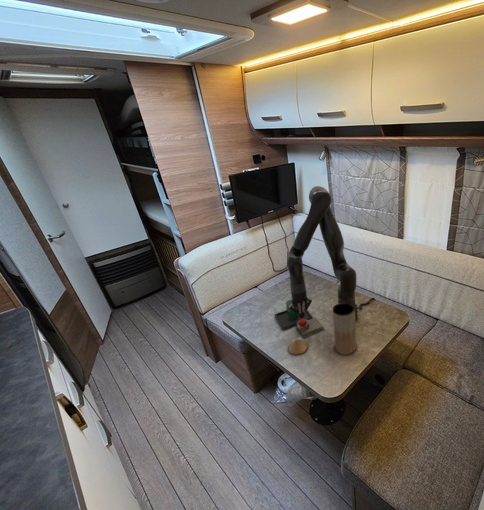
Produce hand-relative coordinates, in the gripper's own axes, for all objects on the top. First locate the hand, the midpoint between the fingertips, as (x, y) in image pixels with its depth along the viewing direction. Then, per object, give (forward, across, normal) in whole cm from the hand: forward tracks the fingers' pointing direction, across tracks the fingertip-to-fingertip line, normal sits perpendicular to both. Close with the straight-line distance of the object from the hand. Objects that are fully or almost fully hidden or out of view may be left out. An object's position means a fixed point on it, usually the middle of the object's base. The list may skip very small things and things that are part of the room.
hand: (301, 317), depth 146 cm
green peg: (+7, -1, +12) cm, 14 cm away
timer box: (+8, +3, -2) cm, 9 cm away
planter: (+8, +12, -24) cm, 28 cm away
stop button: (+4, 0, 0) cm, 4 cm away
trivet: (+8, -8, -12) cm, 16 cm away
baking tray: (+8, -1, +12) cm, 14 cm away
